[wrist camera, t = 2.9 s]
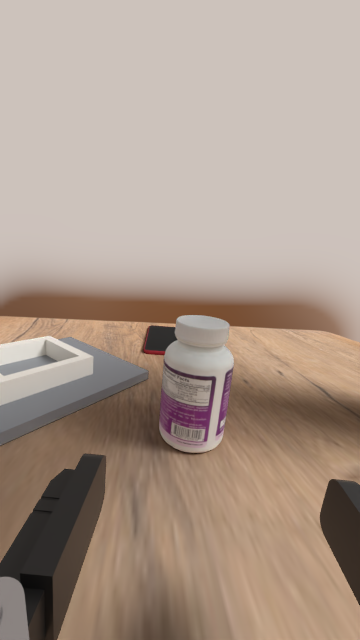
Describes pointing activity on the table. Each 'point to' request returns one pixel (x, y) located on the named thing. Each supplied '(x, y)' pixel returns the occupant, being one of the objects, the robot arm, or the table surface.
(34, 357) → the socket plate
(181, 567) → the table surface
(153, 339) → the smartphone
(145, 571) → the table surface
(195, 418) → the pill bottle
